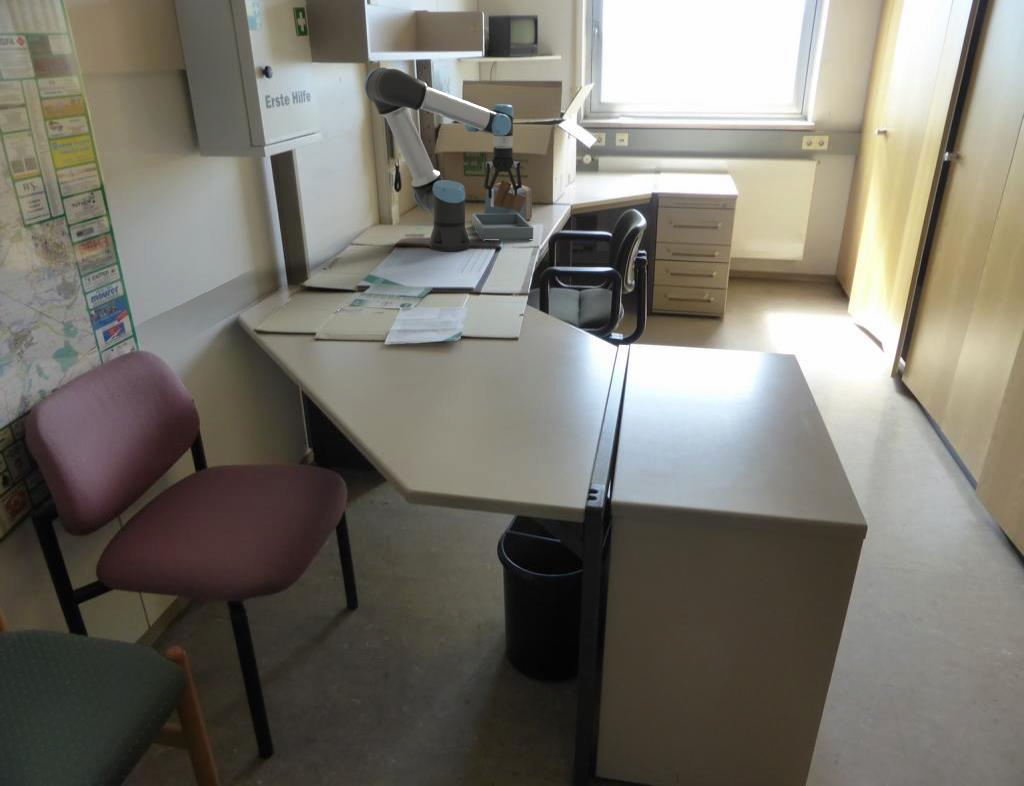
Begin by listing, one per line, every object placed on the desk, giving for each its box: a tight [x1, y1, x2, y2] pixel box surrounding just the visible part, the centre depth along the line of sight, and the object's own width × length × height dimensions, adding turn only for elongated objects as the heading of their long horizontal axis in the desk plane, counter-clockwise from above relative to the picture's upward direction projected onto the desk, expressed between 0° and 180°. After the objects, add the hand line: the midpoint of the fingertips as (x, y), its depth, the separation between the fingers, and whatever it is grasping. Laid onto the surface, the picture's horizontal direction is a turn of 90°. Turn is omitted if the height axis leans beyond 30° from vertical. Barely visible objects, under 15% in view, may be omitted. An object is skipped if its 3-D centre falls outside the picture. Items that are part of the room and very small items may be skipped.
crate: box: [471, 213, 534, 242], centre depth 297 cm, size 20×28×5 cm
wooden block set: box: [494, 179, 526, 212], centre depth 293 cm, size 18×9×10 cm, turn 26°
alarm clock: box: [483, 181, 533, 221], centre depth 320 cm, size 16×16×16 cm
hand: (502, 206), depth 294 cm, fingers closed on wooden block set, 8 cm apart
